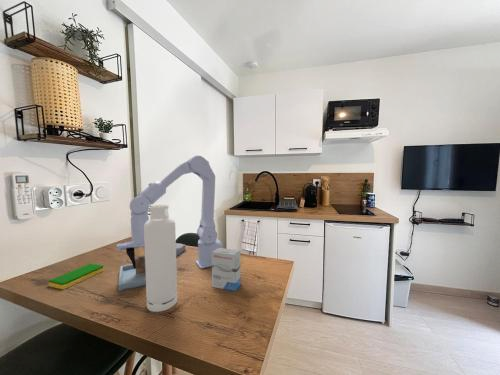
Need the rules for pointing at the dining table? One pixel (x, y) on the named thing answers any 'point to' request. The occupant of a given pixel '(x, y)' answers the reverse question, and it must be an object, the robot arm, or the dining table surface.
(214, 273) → the ink box
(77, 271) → the dish sponge
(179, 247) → the stone block
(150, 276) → the bottle
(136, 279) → the tray
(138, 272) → the walnut block
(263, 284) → the dining table surface
